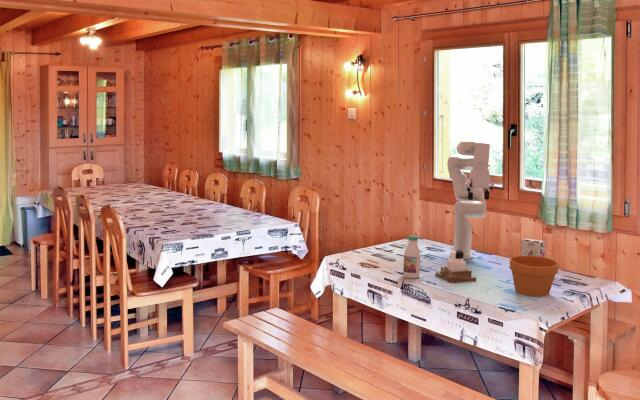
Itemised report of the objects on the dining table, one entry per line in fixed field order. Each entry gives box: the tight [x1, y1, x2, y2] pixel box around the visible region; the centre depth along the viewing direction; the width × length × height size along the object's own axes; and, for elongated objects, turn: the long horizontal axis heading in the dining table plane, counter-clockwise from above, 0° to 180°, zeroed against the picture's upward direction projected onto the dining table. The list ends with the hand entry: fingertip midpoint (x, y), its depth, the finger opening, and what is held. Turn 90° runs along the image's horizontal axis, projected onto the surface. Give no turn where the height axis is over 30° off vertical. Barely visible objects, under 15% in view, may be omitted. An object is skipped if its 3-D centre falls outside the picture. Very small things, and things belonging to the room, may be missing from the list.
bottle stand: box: [434, 266, 477, 284], centre depth 311 cm, size 14×14×4 cm
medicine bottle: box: [446, 250, 467, 272], centre depth 311 cm, size 7×7×12 cm
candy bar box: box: [520, 237, 547, 258], centre depth 329 cm, size 11×5×16 cm, turn 47°
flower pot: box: [509, 255, 560, 298], centre depth 289 cm, size 21×21×15 cm
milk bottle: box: [402, 235, 421, 279], centre depth 310 cm, size 8×8×20 cm
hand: (478, 199), depth 329 cm, fingers open, 9 cm apart
